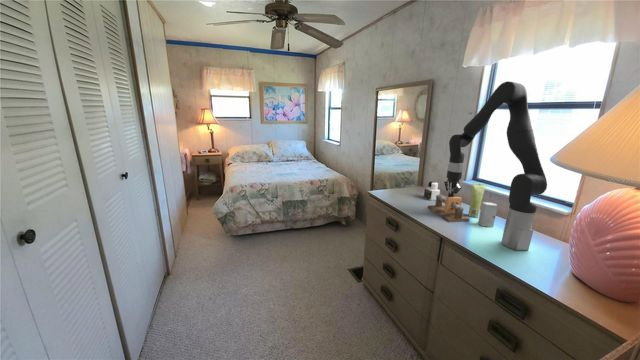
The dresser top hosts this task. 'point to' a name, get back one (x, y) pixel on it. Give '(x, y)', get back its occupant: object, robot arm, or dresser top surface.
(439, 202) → the pipe stand
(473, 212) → the tube
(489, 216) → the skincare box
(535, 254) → the dresser top surface
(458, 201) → the collar
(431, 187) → the medicine bottle
